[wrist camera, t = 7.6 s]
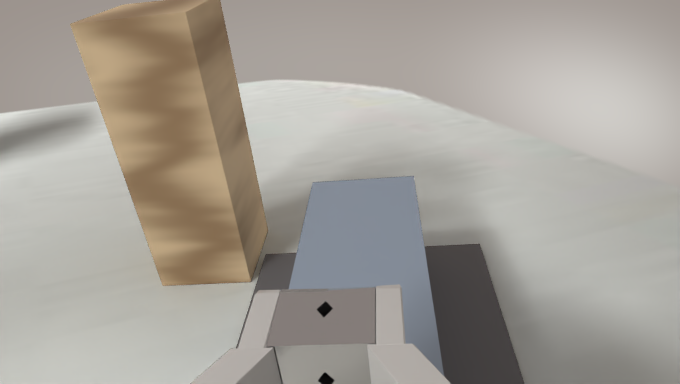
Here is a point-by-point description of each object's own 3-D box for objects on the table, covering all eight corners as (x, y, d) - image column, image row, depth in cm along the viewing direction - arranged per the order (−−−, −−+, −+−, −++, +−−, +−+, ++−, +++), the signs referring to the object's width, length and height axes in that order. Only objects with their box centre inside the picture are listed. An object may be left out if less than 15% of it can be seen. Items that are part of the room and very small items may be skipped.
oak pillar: (162, 285, 27) (69, 23, 21) (191, 234, 32) (122, 4, 25) (251, 281, 27) (185, 12, 20) (268, 230, 31) (219, -6, 24)
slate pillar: (253, 444, 12) (312, 182, 25) (284, 547, 15) (324, 262, 27) (454, 442, 12) (413, 176, 24) (452, 549, 14) (416, 258, 27)
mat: (186, 515, 16) (184, 511, 16) (266, 258, 28) (265, 254, 28) (564, 518, 15) (565, 513, 15) (479, 248, 27) (479, 243, 27)
